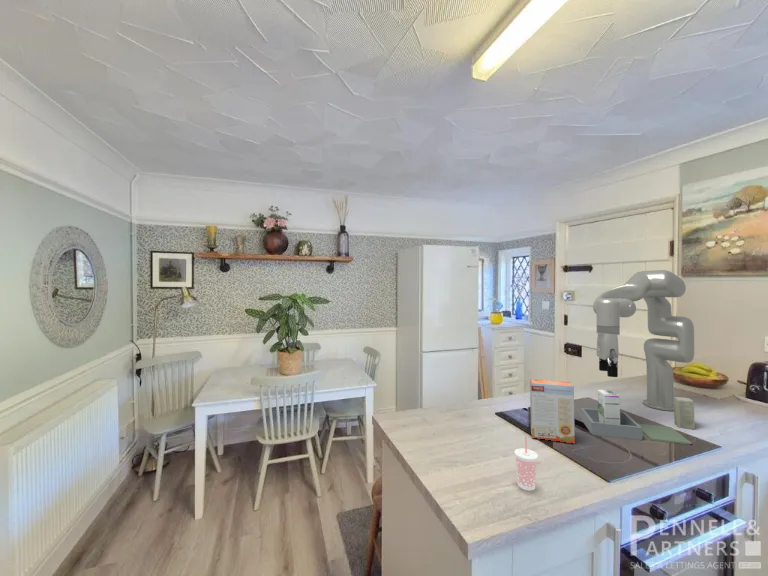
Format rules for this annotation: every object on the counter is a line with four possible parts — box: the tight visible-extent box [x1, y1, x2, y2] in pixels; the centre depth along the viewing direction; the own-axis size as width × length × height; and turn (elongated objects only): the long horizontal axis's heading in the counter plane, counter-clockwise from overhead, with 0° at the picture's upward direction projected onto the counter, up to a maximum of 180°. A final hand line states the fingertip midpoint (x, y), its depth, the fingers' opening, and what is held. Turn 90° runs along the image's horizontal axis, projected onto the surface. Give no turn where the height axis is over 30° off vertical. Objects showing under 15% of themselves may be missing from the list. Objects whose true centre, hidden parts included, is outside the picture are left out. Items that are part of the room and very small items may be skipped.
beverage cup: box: [514, 435, 539, 491], centre depth 91 cm, size 6×6×14 cm
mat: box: [638, 423, 693, 445], centre depth 122 cm, size 14×12×1 cm
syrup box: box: [597, 389, 621, 425], centre depth 127 cm, size 6×6×14 cm
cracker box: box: [529, 379, 576, 445], centre depth 119 cm, size 14×6×21 cm, turn 71°
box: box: [673, 396, 696, 430], centre depth 128 cm, size 5×4×11 cm
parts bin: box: [580, 407, 643, 441], centre depth 127 cm, size 16×16×4 cm
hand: (608, 373), depth 127 cm, fingers open, 9 cm apart
